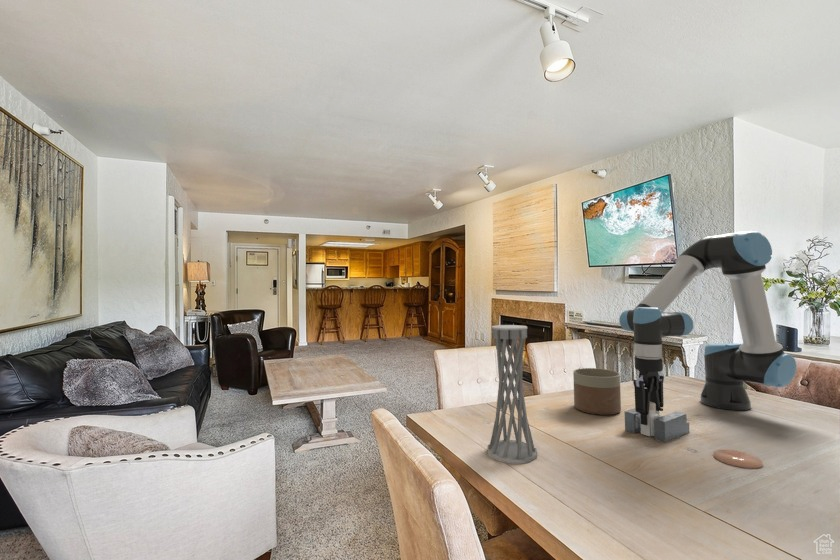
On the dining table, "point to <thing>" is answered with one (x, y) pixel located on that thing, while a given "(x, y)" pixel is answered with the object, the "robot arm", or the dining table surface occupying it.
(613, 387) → the planter
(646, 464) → the dining table surface
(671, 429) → the vise
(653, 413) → the pepper shaker
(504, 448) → the grey tall lattice tower
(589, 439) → the dining table surface
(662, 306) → the robot arm
